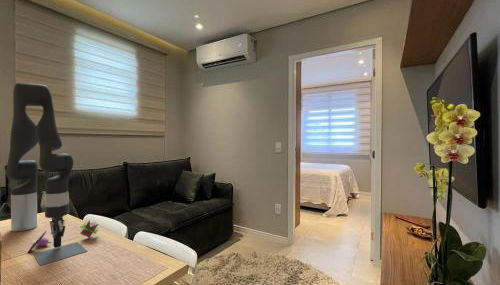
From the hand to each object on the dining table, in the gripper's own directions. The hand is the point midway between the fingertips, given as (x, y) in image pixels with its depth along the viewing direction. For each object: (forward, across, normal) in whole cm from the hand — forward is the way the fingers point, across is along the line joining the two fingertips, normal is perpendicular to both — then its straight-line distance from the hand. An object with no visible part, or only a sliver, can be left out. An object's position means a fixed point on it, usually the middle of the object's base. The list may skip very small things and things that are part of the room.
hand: (57, 246), depth 95 cm
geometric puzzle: (+1, -3, +12) cm, 12 cm away
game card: (-1, -3, -5) cm, 6 cm away
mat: (+1, +5, 0) cm, 5 cm away
